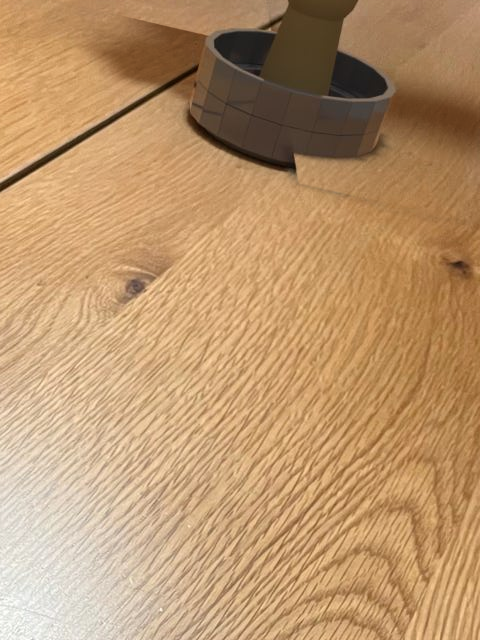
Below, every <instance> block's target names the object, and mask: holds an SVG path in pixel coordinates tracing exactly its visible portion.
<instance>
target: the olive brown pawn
mask: <svg viewBox="0 0 480 640" xmlns="http://www.w3.org/2000/svg"><path fill="white" fill-rule="evenodd" d="M287 3H288V5H287V8H286V10H285V12H284V15H283V16H282V19H281V22H280V24H279V26H278V29H277V31H276V32H277V34H276V36H275V38H274V41H273V43H272V46H271V48H270V51H269V53H268V55H267V58H266V60H265V63H264V65H263V68H262V70H261V72H260V75H259V77H260V78H262V79H265V80H268V81H271V82H274V83H277V84H280V85H283V86H286V87H289V88H292V89H296V90H300V91H305V92H309V93H313V94H318V95H322V96H328V93H329V88H330V83H331V78H332V74H333V69H334V64H335V59H336V54H337V50H338V49H339V45H340V40H341V36H342V35H341V34H342V29H343V26H344V20H345V19H346V18H347V17H348V16H349V15H350V14H352V13H353V11H354V10H355V8H356V6H357V4H358V3H359V0H287Z"/></svg>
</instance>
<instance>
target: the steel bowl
mask: <svg viewBox="0 0 480 640" xmlns="http://www.w3.org/2000/svg"><path fill="white" fill-rule="evenodd" d="M276 34H277V31H275V30H267V29H260V28H245V27H243V28H240V27H238V28H237V27H232V28H226V29H220V30H215V31H213V32H211V34H209V35H208V36H206V38H205V40H204V44H203V48H202V52H201V55H200V59H199V63H198V67H197V72H196V75H195V79H194V83H193V87H192V91H191V95H190V99H189V113H190V115H191V116H192V117H193V119H194V120H195V121H196V122H197V123H198V125H200V126H201V127H202V128H203V129H204V130H205V131H206V132H207V133H208V134H209V135H210V136H212V137H213V138H214V139H215V140H217V141H218V142H220V143H222V144H224V145H225V146H227V147H229V148H231V149H233V150H235V151H237V152H239V153H241V154H243V155H246V156H249V157H252V158H255V159H258V160H260V161H264V162H268V163H271V164H274V165H278V166H283V167H288V168H293V169H297V163H296V158H295V153H296V154H299V155H305V156H311V157H321V158H330V159H338V158H339V159H341V158H342V159H343V158H357V157H360V156H364V155H366V154H369V153H371V152H372V151H373V150H374V149H375V147H376V146H377V145H378V141H379V139H380V136H381V133H382V131H383V128H384V126H385V125H384V124H385V123H386V119H387V117H388V114H389V111H390V109H391V106H392V103H393V100H394V99H395V94H396V91H397V89H396V87H395V84H394V81H393V79H391V78H390V77H389V76H388V75H387V74H386V73H385V72H384V71H382V69H381V68H379V67H377V66H375V65H373V64H372V63H370V62H369V61H367V60H365V59H363V58H362V57H360V56H357V55H355V54H352V53H349V52H347V51H345V50H343V49H340V48H338V50H337V54H336V59H335V64H334V69H333V74H332V78H331V83H330V88H329V93H328V96H322V95H318V94H313V93H309V92H305V91H300V90H296V89H292V88H289V87H286V86H283V85H280V84H277V83H274V82H271V81H268V80H265V79H262V78H260V77H259V75H260V72H261V70H262V68H263V65H264V63H265V60H266V58H267V55H268V53H269V51H270V48H271V46H272V43H273V41H274V38H275V36H276Z"/></svg>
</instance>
